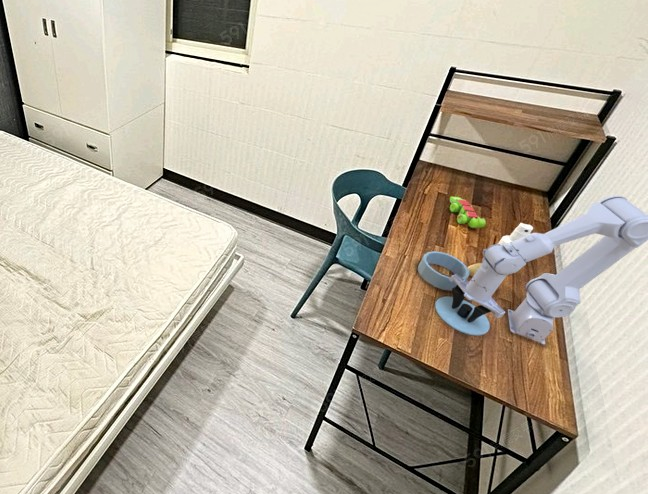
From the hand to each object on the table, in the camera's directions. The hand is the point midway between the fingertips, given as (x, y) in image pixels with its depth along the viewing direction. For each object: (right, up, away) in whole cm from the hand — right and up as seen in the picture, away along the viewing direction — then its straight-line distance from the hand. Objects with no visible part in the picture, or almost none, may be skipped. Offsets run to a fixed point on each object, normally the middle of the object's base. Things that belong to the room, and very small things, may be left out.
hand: (462, 313), depth 120 cm
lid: (0, -1, 0) cm, 1 cm away
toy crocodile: (+31, +25, +40) cm, 57 cm away
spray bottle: (+26, +10, +19) cm, 34 cm away
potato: (+16, +8, +15) cm, 23 cm away
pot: (+3, +8, +14) cm, 16 cm away
